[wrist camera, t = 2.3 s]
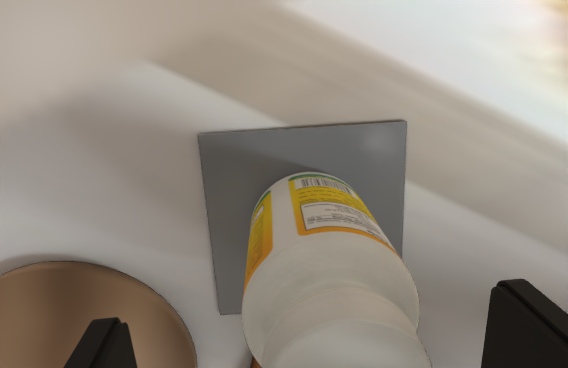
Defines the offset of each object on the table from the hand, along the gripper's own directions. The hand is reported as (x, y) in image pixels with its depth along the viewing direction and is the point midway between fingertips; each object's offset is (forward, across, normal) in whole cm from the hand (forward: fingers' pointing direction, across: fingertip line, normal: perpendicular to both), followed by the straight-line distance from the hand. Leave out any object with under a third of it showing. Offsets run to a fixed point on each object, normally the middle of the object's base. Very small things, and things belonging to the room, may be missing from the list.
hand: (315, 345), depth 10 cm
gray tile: (+8, -1, 0) cm, 9 cm away
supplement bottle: (+8, -1, 0) cm, 9 cm away
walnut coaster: (+9, +11, +8) cm, 16 cm away
